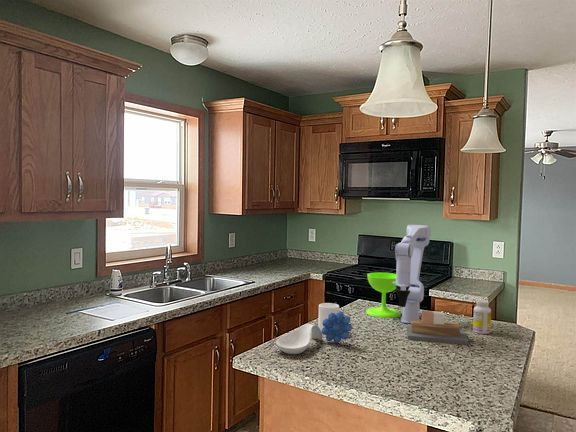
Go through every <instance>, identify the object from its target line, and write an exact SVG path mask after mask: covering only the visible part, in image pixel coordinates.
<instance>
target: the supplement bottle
mask: <svg viewBox="0 0 576 432" xmlns="http://www.w3.org/2000/svg"><path fill="white" fill-rule="evenodd" d="M475 302H476V305H475V306H474V308H473V317H472V318H473V319H472V320H473V322H472V325H473V326H472V330H473V332H475V333H476V334H479V335H480V334H482V335H488V334H491V332H492V331H491V327H492V326H491V325H492V309H491V308H490V307H489V305H490V304H489V303H490V302H489V301H488V300H486V299H477V300H476V301H475Z"/></svg>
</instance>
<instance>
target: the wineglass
mask: <svg viewBox="0 0 576 432" xmlns="http://www.w3.org/2000/svg"><path fill="white" fill-rule="evenodd" d="M367 281H368V284H369V285H370V286H371V288H372V289H374V290H375V291H377V292H379V293H381V305H380V307H378V306H377V307H376V306H375V307H370V308H368V309H367V310H366V313H365V314H367V315H369V316H372V317H374V318H384V319H388V318H389V319H392V318H393V319H395V318H398V317H401V316H402V314H401V311H399V310H398V309H394V308H392V307H391V308H390V307H387V302H386V301H387V294H388V293H390V292H393V291H396V289H397V288H396V286H397V285H396V284H393V282H396V273H392V272H370V273H367Z"/></svg>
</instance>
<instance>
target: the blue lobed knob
mask: <svg viewBox="0 0 576 432" xmlns="http://www.w3.org/2000/svg"><path fill="white" fill-rule="evenodd" d="M344 313H345V312H343V311H339V312H338V313H337V314H335V313H330V314H329V315H328V319H325V320H323V326H324V328H323V329H322V332H321V333H322V336H323V335H324V336H325V340H326V341H328V342H332V341H333V342H334V343H335V344H338V343H340V342H341V341H342V340H346V339H348V338H349V332H350V331H352V330H353V325H352V324H351V323H350V322H351V317H350V316H349V315H345V314H344Z"/></svg>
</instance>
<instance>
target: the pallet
mask: <svg viewBox="0 0 576 432" xmlns="http://www.w3.org/2000/svg"><path fill="white" fill-rule="evenodd" d="M410 326H411V333H422V334H434V335H446V336H459V337H460V330H461V326H460V323H459V322H451V321H444V325H441V324H427V323H422V319H420V320H414V319H411V323H410Z"/></svg>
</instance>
